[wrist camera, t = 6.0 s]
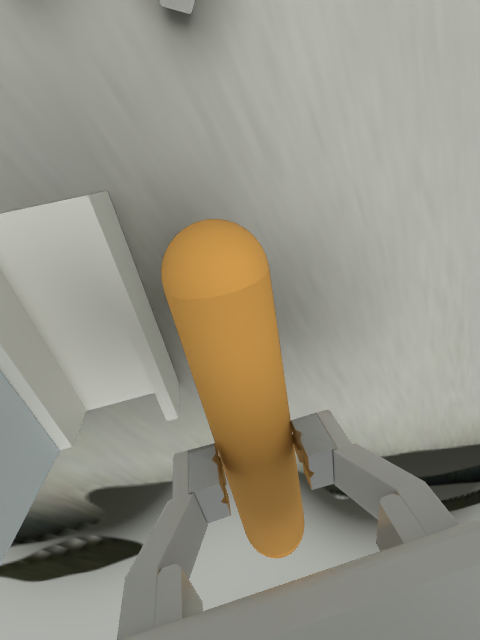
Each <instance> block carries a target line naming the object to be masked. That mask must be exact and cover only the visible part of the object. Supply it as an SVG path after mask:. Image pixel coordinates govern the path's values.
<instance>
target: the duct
mask: <svg viewBox="0 0 480 640" xmlns="http://www.w3.org/2000/svg"><path fill="white" fill-rule="evenodd" d="M0 369H1V371H2V372H3V373H4V375H5V376H6V377H7V379H8V380H9V381H10V383H11V384H12V385H13V387H14V388H15V389H16V391H17V392H18V394H19V395H20V396H21V398H22V399H23V400H24V402H25V403H26V404H27V406H28V407H29V408H30V410H31V411H32V412H33V414H34V415H35V417H36V418H37V419H38V421H39V422H40V423H41V425H42V426H43V427H44V429H45V430H46V431H47V433H48V434H49V435H50V437H51V438H52V439H53V441H54V442H55V444H56V445H57V446H58V448H59V449H60V450H64V449H68V448H72V447H73V445H74V443H75V440H76V437H77V435H78V432H79V430H80V427H81V425H82V422H83V420H84V417H85V414H86V412H87V411H89V410H92V409H96V408H100V407H104V406H107V405H111V404H115V403H119V402H122V401H126V400H130V399H133V398H137V397H141V396H145V395H148V394H152V393H155V396H156V398H157V400H158V402H159V405H160V407H161V409H162V412H163V414H164V416H165V418H166V421H169V420H173V419H177V418H178V379H177V376H176V374H175V371H174V368H173V366H172V363H171V360H170V357H169V355H168V352H167V349H166V347H165V344H164V341H163V339H162V336H161V333H160V331H159V328H158V325H157V323H156V320H155V317H154V315H153V312H152V309H151V306H150V304H149V301H148V298H147V296H146V293H145V290H144V288H143V285H142V282H141V280H140V277H139V274H138V272H137V269H136V266H135V264H134V261H133V258H132V255H131V253H130V250H129V247H128V245H127V242H126V239H125V237H124V234H123V231H122V229H121V226H120V223H119V221H118V218H117V215H116V213H115V210H114V207H113V204H112V202H111V199H110V196H109V194H108V191H104V192H100V193H95V194H90V195H85V196H81V197H76V198H71V199H67V200H62V201H57V202H52V203H48V204H43V205H38V206H33V207H29V208H24V209H19V210H14V211H10V212H5V213H0Z"/></svg>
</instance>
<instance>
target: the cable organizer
mask: <svg viewBox="0 0 480 640" xmlns="http://www.w3.org/2000/svg"><path fill="white" fill-rule="evenodd" d="M159 1H160V4H161V6H162V7H166V8H169V9H173V10H177V11H180V12H184V13H188V14H191V12H192V10H193V6H194V2H195V0H159Z"/></svg>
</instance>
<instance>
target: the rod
mask: <svg viewBox="0 0 480 640" xmlns="http://www.w3.org/2000/svg"><path fill="white" fill-rule="evenodd" d="M161 278H162V284H163V288H164V292H165V295H166V298H167V301H168V304H169V307H170V310H171V313H172V316H173V319H174V322H175V325H176V328H177V331H178V334H179V337H180V340H181V343H182V346H183V349H184V352H185V355H186V358H187V361H188V364H189V367H190V369H191V372H192V375H193V378H194V381H195V384H196V387H197V390H198V393H199V396H200V399H201V402H202V405H203V408H204V411H205V414H206V417H207V420H208V423H209V426H210V429H211V432H212V435H213V438H214V441H215V444H216V446H217V449H218V452H219V455H220V458H221V461H222V464H223V467H224V470H225V473H226V476H227V479H228V482H229V485H230V488H231V491H232V494H233V497H234V499H235V503H236V506H237V508H238V512H239V515H240V518H241V521H242V524H243V526H244V529H245V533H246V535H247V538H248V539H249V541H250V543H251V544H252V545H253V547H254V548H255V549H256V550H257V551H258V552H259V553H261V554H263V555H265V556H267V557H270V558H282V557H285V556H287V555H289V554H291V553H292V552H293V551H294V550H295V549H296V548H297V547H298V545H299V543H300V541H301V539H302V536H303V533H304V514H303V507H302V500H301V492H300V487H299V486H300V485H299V479H298V471H297V464H296V457H295V450H294V444H293V439H292V430H291V425H290V414H289V407H288V400H287V392H286V385H285V378H284V371H283V364H282V357H281V350H280V342H279V335H278V328H277V321H276V314H275V307H274V300H273V292H272V285H271V278H270V271H269V265H268V261H267V257H266V254H265V252H264V250H263V248H262V246H261V245H260V243H259V242H258V241H257V239H256V238H255V237H254V236H253V235H252V234H251V233H250V232H249V231H248V230H247V229H245V228H243V227H241V226H240V225H238V224H236V223H233V222H230V221H227V220H220V219H207V220H202V221H198V222H195V223H193V224H191V225H190V226H188V227H186V228H184V229H183V230H182V231H181V232H179V233H178V234H177V235H176V236H175V237H174V238H173V240H172V241H171V243H170V244H169V246H168V248H167V250H166V252H165V254H164V257H163V261H162V266H161Z"/></svg>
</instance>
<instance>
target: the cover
mask: <svg viewBox="0 0 480 640" xmlns="http://www.w3.org/2000/svg"><path fill="white" fill-rule="evenodd" d="M59 452H60V450H59V449H58V447H57V446H56V444H55V443H54V442H53V440H52V439H51V438H50V436H49V435H48V434H47V432H46V431H45V430H44V428H43V427H42V426H41V424H40V423H39V422H38V420H37V419H36V418H35V416H34V415H33V413H32V412H31V411H30V409H29V408H28V407H27V405H26V404H25V403H24V401H23V400H22V399H21V397H20V396H19V395H18V393H17V392H16V391H15V389H14V388H13V386H12V385H11V384H10V382H9V381H8V380H7V378H6V377H5V376H4V374H3V373H2V372H1V370H0V565H1V563H2V561H3V559H4V557H5V555H6V553H7V552H8V550H9V548H10V546H11V544H12V542H13V540H14V538H15V536H16V534H17V532H18V530H19V529H20V527H21V525H22V523H23V521H24V519H25V517H26V515H27V513H28V511H29V509H30V507H31V505H32V504H33V502H34V500H35V498H36V496H37V494H38V492H39V490H40V488H41V486H42V484H43V482H44V481H45V479H46V477H47V475H48V473H49V471H50V469H51V467H52V465H53V463H54V461H55V459H56V457H57V456H58V454H59Z"/></svg>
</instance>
